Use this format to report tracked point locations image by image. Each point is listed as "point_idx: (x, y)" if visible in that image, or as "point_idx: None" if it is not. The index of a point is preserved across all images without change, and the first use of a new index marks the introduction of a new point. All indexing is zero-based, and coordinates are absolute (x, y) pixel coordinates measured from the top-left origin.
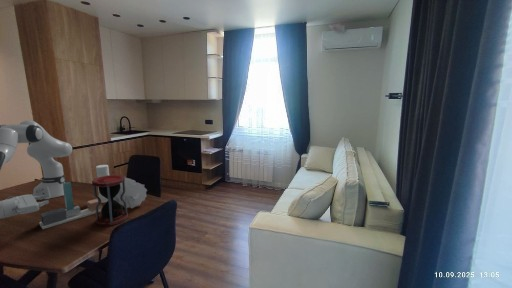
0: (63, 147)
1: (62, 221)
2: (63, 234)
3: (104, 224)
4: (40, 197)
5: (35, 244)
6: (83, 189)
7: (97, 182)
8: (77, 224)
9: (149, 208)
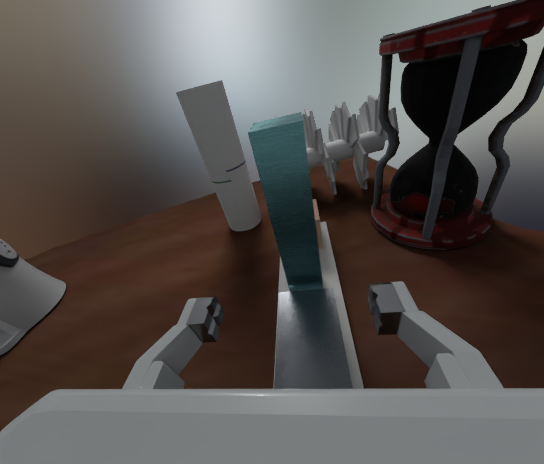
0: None
1: (352, 339)
2: (536, 370)
3: (488, 230)
4: (192, 333)
5: None
6: (97, 251)
7: None
8: None
9: (391, 168)
